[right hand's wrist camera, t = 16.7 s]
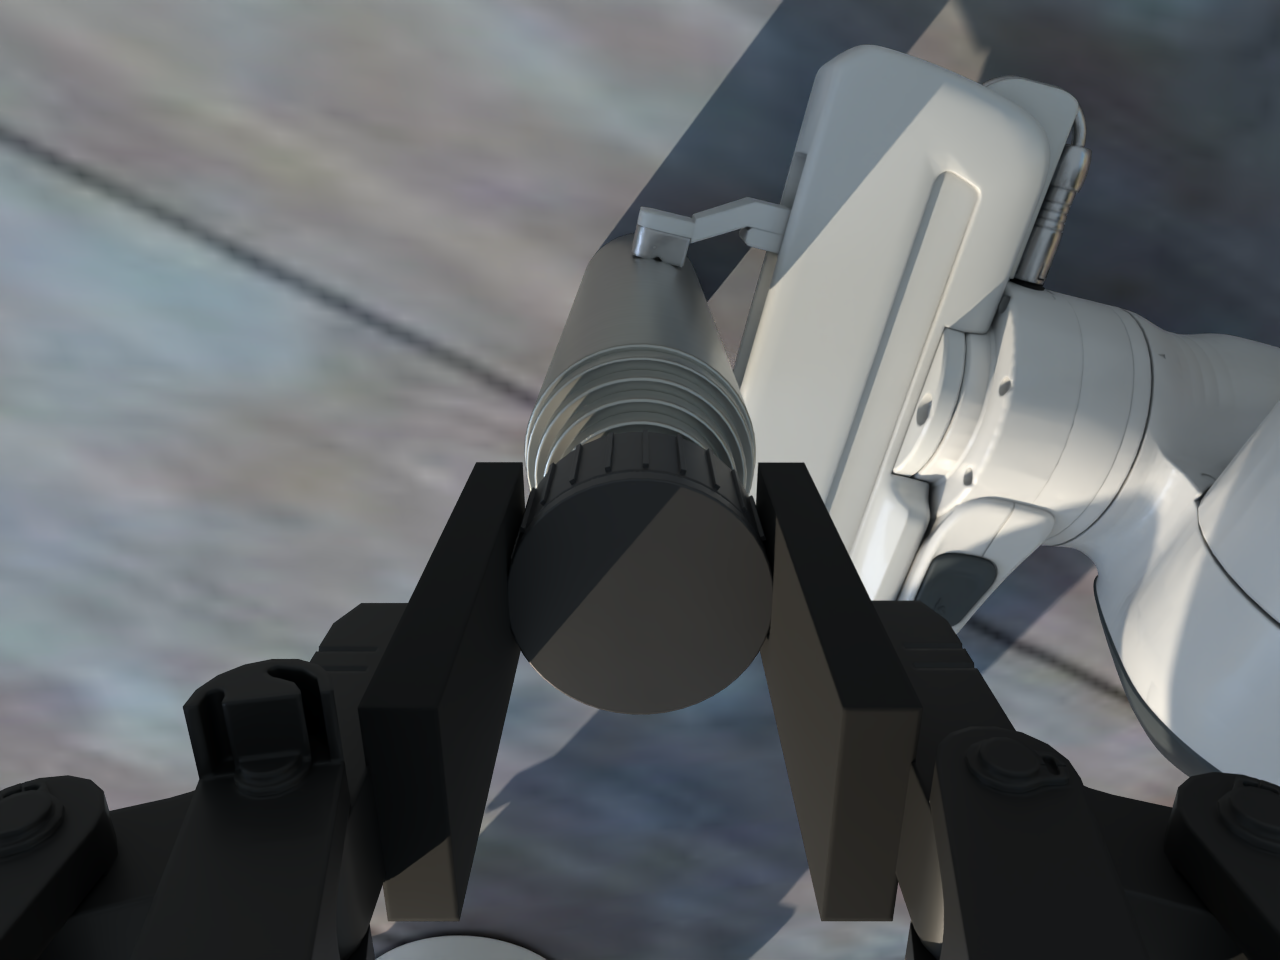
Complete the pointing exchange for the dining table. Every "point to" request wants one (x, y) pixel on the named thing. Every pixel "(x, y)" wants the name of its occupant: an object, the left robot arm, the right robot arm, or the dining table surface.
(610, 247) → the bottle
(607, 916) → the dining table surface
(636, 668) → the cap
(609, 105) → the dining table surface
